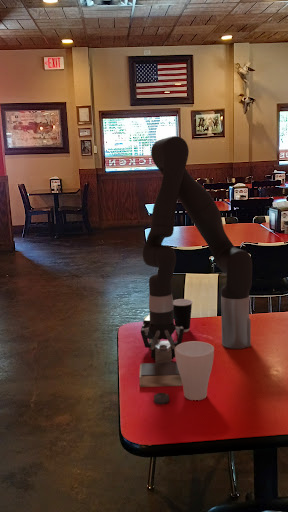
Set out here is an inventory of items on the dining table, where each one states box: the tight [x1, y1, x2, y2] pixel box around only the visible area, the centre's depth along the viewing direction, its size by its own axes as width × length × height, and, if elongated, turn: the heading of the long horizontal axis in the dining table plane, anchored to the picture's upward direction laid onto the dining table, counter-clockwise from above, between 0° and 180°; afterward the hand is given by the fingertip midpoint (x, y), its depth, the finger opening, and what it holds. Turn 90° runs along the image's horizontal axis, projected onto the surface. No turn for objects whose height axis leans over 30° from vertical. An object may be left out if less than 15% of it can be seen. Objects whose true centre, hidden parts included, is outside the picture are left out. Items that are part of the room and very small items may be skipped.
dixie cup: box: [173, 298, 193, 333], centre depth 181 cm, size 8×8×11 cm
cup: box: [175, 340, 215, 401], centre depth 130 cm, size 10×10×14 cm
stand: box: [138, 361, 183, 388], centre depth 142 cm, size 12×9×3 cm
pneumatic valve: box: [141, 313, 161, 350], centre depth 165 cm, size 6×12×12 cm, turn 163°
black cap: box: [153, 392, 170, 406], centre depth 129 cm, size 4×4×2 cm
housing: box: [155, 340, 173, 363], centre depth 154 cm, size 9×5×6 cm, turn 0°
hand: (163, 358), depth 155 cm, fingers closed on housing, 5 cm apart
